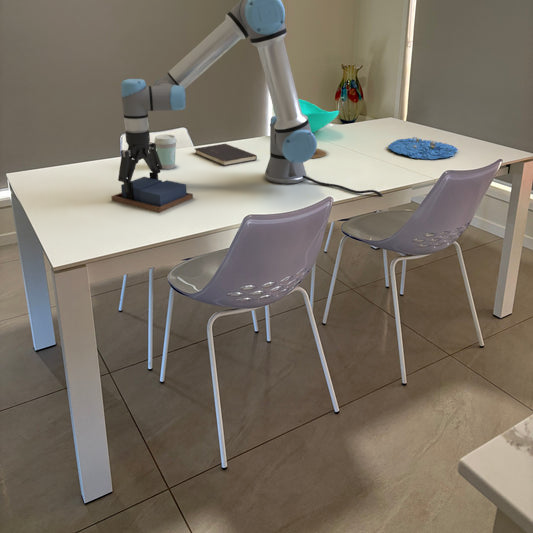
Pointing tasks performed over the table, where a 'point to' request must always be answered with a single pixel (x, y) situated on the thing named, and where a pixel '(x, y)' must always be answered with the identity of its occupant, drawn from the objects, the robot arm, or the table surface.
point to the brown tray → (150, 207)
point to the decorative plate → (422, 148)
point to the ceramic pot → (318, 153)
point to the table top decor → (316, 115)
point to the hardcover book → (225, 154)
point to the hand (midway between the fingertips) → (142, 196)
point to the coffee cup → (166, 150)
